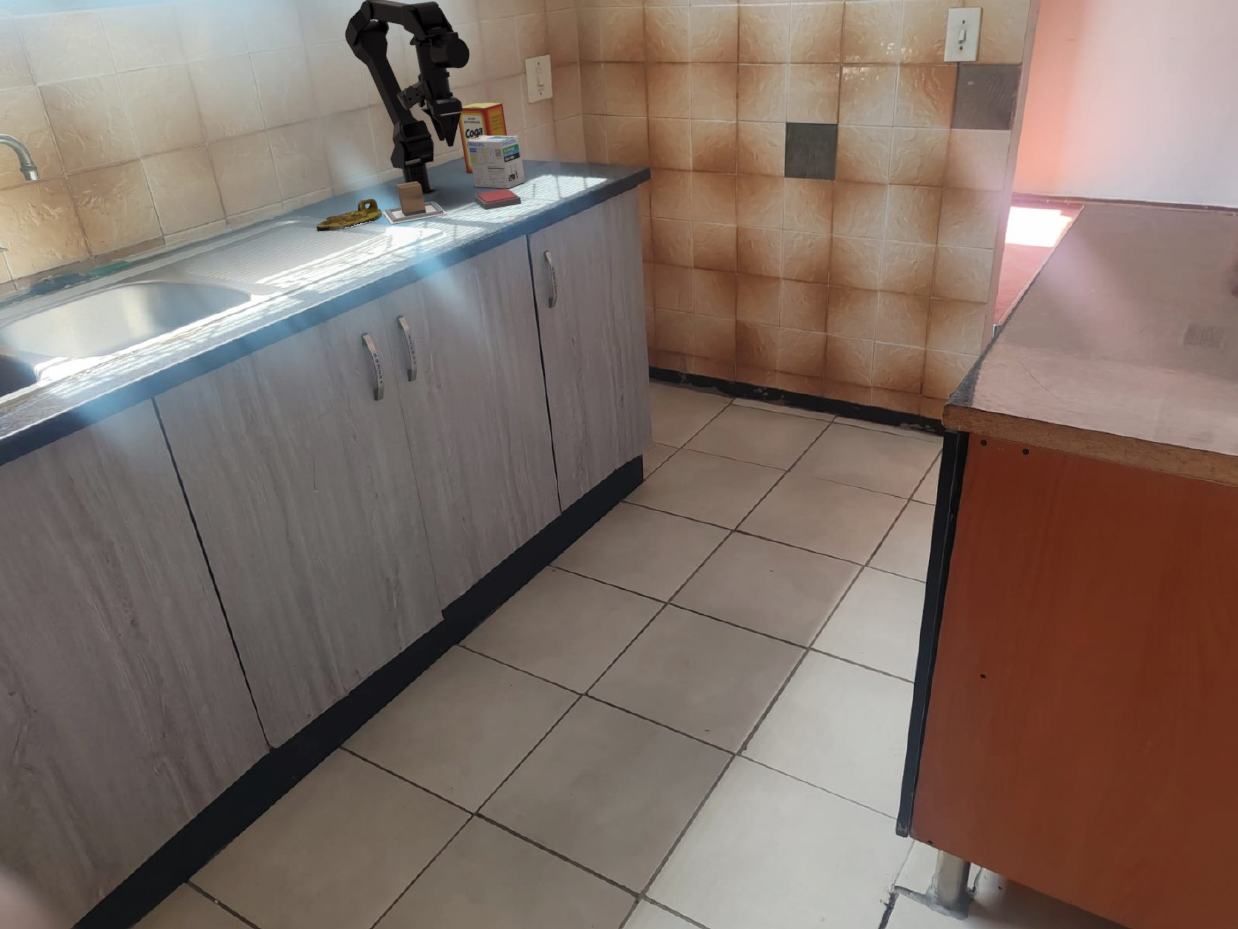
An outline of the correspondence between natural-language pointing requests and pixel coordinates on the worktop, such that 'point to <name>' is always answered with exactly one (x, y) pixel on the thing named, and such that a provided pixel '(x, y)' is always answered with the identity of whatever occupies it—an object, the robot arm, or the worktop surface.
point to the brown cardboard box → (411, 198)
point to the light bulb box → (496, 161)
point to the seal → (352, 217)
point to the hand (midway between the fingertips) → (446, 143)
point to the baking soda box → (480, 124)
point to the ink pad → (497, 199)
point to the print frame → (398, 217)
